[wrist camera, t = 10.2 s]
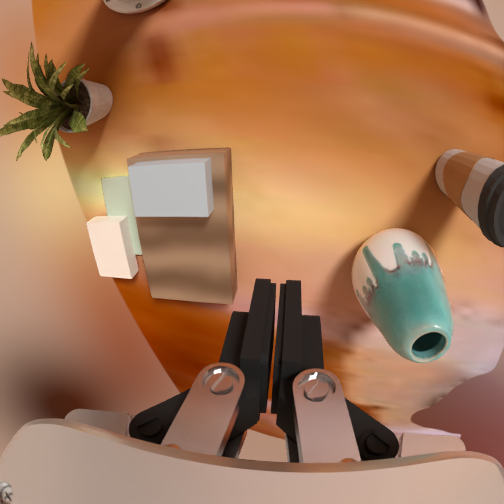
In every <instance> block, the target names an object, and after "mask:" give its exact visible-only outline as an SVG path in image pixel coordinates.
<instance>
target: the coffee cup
mask: <svg viewBox="0 0 504 504" xmlns="http://www.w3.org/2000/svg"><path fill="white" fill-rule="evenodd" d="M435 176H436V181H437V185H438V186H439V188H440V190H441V191H442V192H444V193H445V194H446V195H447V196H448V197H449V198H450V200H451V201H452V202H453V203H454V204H456V205H457V206H458V207H459V208H460V209H461V210H462V211H463V212H464V213H465V214H466V215H467V216H468V217H469V218H470V219H471V220H473V221H474V222H475V224H476V225H477V226H478V227H479V228H480V229H481V231H482V233H483V235H484V236H485V237H486V238H487V239H488V240H490V241H492V242H493V243H494V244H496V245H498V246H500V247H504V162H501V161H497V160H495V159H494V158H490V157H487V156H483V155H480V154H476V153H472V152H466V151H462V150H458V149H452V150H449V151H447V152H445V153H444V154H443V155H442V156H441V157H440V158H439V160H438V162H437V164H436V169H435Z"/></svg>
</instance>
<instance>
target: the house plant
mask: <svg viewBox="0 0 504 504" xmlns="http://www.w3.org/2000/svg"><path fill="white" fill-rule="evenodd" d="M52 59H53V58H52ZM30 62H31V67H32V71H33V73H34V76H35V81H36V84H37V86H38V88H39V89H40V91H41V92H42V93H43V94H44V95H45V96H44V95H42V94H39V93H37V92H35V90H34V89H33V88H32V85H31V82H30V78H29V58H28V66H27V79H28V85H29V88H27V87H26V86H24V85H20V84H13V83H11V82H9V81H8V80H5V79H2V81H3V83H4V85H5V86H6V88H7V89H8V90H9V91H4V92H5V93H6V94H8V95H10V96H11V97H13V98H16V99H18V100H20V101H22V102H23V103H25V104H27V105H30V106H32V107H36V108H39V109H35V110H32V111H28V112H26V113H24V114H22V113H21V114H22V115H21V116H19V117H18V118H15V119H13V120H11V121H10V122H8V123H7V124H5V125H4V127H3V128H1V129H0V136H3V135H7V134H10V133H13V132H17V131H20V130H25V129H35V130H34V131H32V132H31V133H30V135H28V137H27V138H26V139H25V141H24V142H23V144H22V145H21V147H20V149H19V152H18V156H17V160H18V158H19V157H20V156H21V154H22V152H23V151H24V150H25V149H26V148H27V147H28V146H29V145H30V144H31V142H32V141H33V140H34V139H35V141H36V137H37V136H38V135H39V134H40V133H41V132H43V131H44V130H45V129H46V128H47V127H48V129H47V130H46V131H45V133H44V136H43V139H42V141H41V148H42V152H43V156H44V158H45V160H47V159H48V158H49V157H50V154H51V152H52V148H53V143H54V139H56V140H57V141H58V142H60V143H61V144H63V145H64V146H65V147H69V148H71V147H70V146H69V145H68V144H67V143H66V142H65V141H64V140H63V139H62V138H61V136H60V135H59V134H58V130H59V129H60V130H61V131H63V132H66V133H74V132H75V133H79V132H84V131H88V129H87V126H88V125H90V124H92V123H94V122H96V121H98V120H100V119H102V118H104V117H105V116H107V114H108V113H109V112H110V110H111V108H112V104H113V96H112V93H111V91H110V89H109V88H108V87H107V86H105V85H103V84H99V83H96V82H92V81H88V80H84V79H82V77H83V76H84V75H85V74H86V73H87V71H88V69H89V68H88V69H86V70H84V71H83V72H81V73H80V71H81V70H82V68H83V67H84V65H85V64H81V65H77V66H76V67H74V68H73V69H72V70H71V71H70V72H69V74H68V75H67V78H66V80H65V81H63V82H62V83H60V82H59V79H58V75H59V73H60V72H61V71H62V69H63V68H64V65H65V64H66V62H65V63H64V64H63V65H61V66H60V67H59V68H58V69H57V70H56V68H55V66H54V64H53V62H52V60H51V61H50V62H49V64H48V63H47V55H46V56H45V61H44V68H45V72H46V77H45V76H44V74H43V72H42V69H41V66H40V65H39V56H38V54H37V59H36V60H35V58H34V50H33V45H32V43H31V48H30ZM86 64H87V63H86ZM79 73H80V74H79ZM46 78H47V79H46ZM50 89H51V90H50ZM54 92H55V93H54ZM54 123H55V125H54V126H53V127H52V128H51V130H50V131H49V133H48V135H47V137H46V139H45V142H44V144H43V141H44V138H45V136H46V133H47V131H48V130H49V128H50V127H51V126H52V125H53V124H54ZM88 132H90V131H88ZM36 143H37V141H36ZM17 160H16V161H17Z"/></svg>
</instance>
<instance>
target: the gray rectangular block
mask: <svg viewBox="0 0 504 504" xmlns="http://www.w3.org/2000/svg"><path fill="white" fill-rule="evenodd" d="M128 171H129V178H130V186H131V192H132V199H133V205H134V212H135V217H209V216H210V214H211V213H212V211H213V210H214V203H213V188H212V172H211V158H195V159H175V160H159V161H146V162H137V163H135V164H133V165H131V166H129V167H128Z"/></svg>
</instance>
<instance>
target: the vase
mask: <svg viewBox="0 0 504 504" xmlns="http://www.w3.org/2000/svg"><path fill="white" fill-rule="evenodd" d="M352 284H353V289H354V292H355V294H356V297H357V299H358V301H359V303H360V305H361V306H362V308H363V310H364V311H365V313H366V314H367V316H368V317H369V318H370V320H371V321H372V322H373V323H374V324H375V325H376V327H377V328H378V329H379V330H380V332H381V333H382V335H383V336H384V338H385V339H386V341H387V342H388V344H389V345H390V346H391V347H392V349H393V350H394V351H395V352H396V353H398V354H399V355H400V356H402V357H403V358H405V359H407V360H410V361H413V362H416V363H427V362H431V361H433V360H436V359H438V358H439V357H441V356H442V355H443V354H444V353H445V352H446V351H447V350H448V348H449V347H450V344H451V339H452V335H453V315H452V309H451V305H450V302H449V298H448V294H447V291H446V285H445V280H444V275H443V272H442V269H441V266H440V263H439V261H438V258H437V256H436V254H435V252H434V251H433V249H432V247H431V246H430V245H429V244H428V242H427V241H426V240H425V239H424V238H422V237H421V236H420V235H418V234H416V233H415V232H413V231H410V230H407V229H402V228H390V229H386V230H382V231H380V232H378V233H376V234H374V235H372V236H371V237H370V238H368V239H367V240H366V241H365V242H364V243H363V244H362V246H361V247H360V248H359V250H358V252H357V254H356V256H355V259H354V261H353V266H352Z"/></svg>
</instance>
